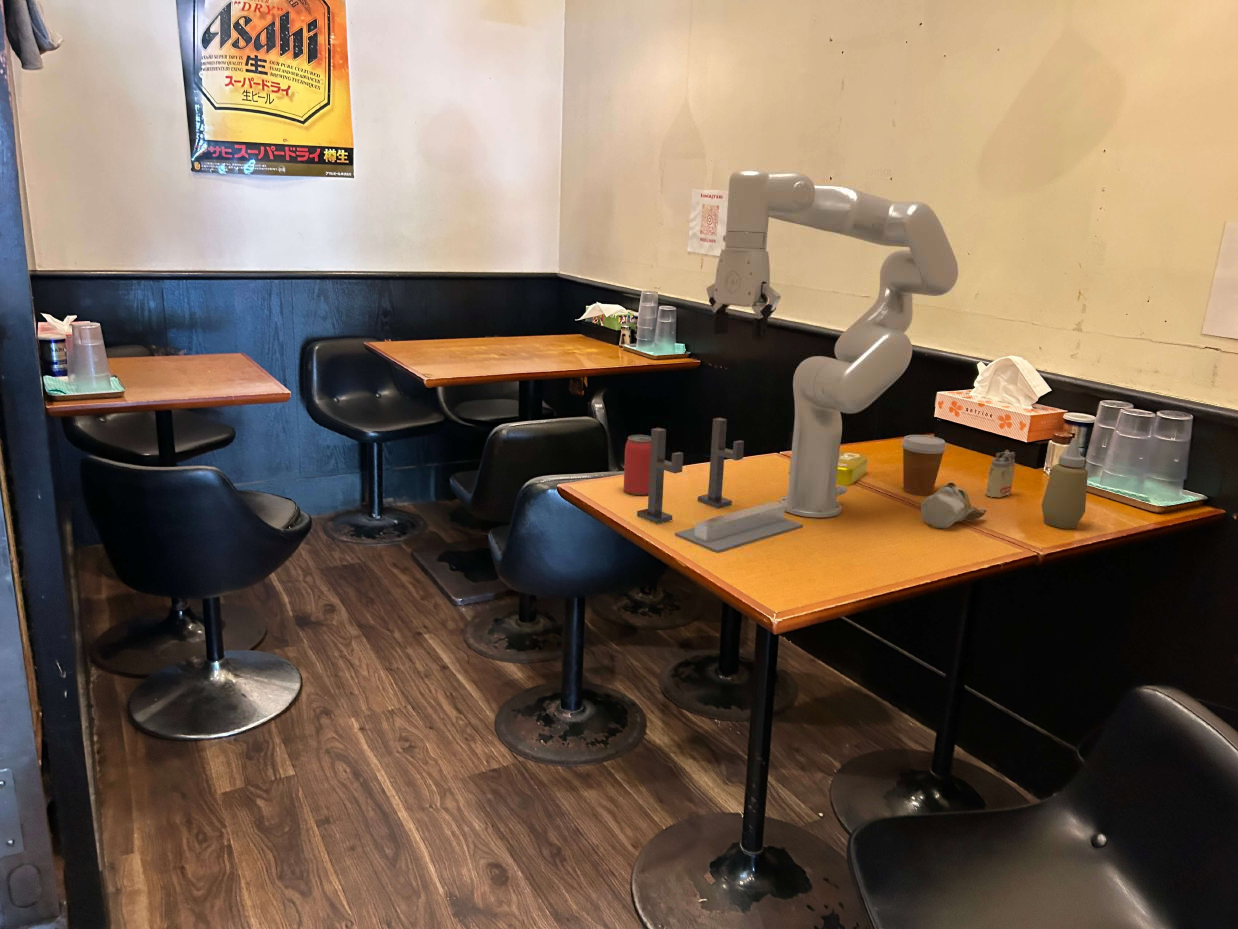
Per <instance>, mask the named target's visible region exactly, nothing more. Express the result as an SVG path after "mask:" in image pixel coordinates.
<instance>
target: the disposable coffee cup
mask: <svg viewBox="0 0 1238 929" xmlns="http://www.w3.org/2000/svg"><path fill="white" fill-rule="evenodd" d="M901 445H902V446H901V447H902V452H903V453H902V461H903V462H902V463H903V464H902V465H903V466H902V467H903V472H902V476H903V478H902V479H903V484H902V485H903V486H902V487H903V488H902V490H903V491H904V492H905V493H909V494H911V495H917V496H931V495H933V494H934V493H933V492H934V489H935V486H936V481H937V477H938V474H939V470H940V466H941V463H942V459H943V455H944V453H945V451H946V450H947V446H946V441H945V440H944V439H943V438H939V437H937V436H932V435H931V436H930V435H925V434H923V435H922V434H909V435H906V436H904V438H903V441H901Z"/></svg>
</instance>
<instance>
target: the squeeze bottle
mask: <svg viewBox="0 0 1238 929" xmlns="http://www.w3.org/2000/svg"><path fill="white" fill-rule="evenodd" d="M1085 461H1086V457H1084V456H1082V455H1081V453H1080V439H1079V438H1077V437H1076V438H1075V437H1072V438H1071V440H1070V443H1069V445H1068V447H1067V450H1066V451H1065V453H1061V454H1059V457H1058V463H1057V464H1056V463H1055V464H1054V465H1053V466H1052V468H1051V471H1050V475H1049V478H1048V481H1047V485H1046V488H1045V492H1044V495H1043V499H1042V502H1041V509H1042V510H1041V511H1042V515H1043V520H1044V521H1043V522H1044V523H1045V524H1047V525H1049V526H1052V527H1053V528H1054V527H1055V528H1058V527H1059V528H1060V529H1075V528H1077V526H1078V524H1079V523H1080V521H1081V519H1082V518H1083V516H1084V515H1085V513H1086V504H1087V489H1088V476H1089V474H1088V473H1089V471H1088V470H1087V468H1086V467H1085V466H1084V465H1085Z"/></svg>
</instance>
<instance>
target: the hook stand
mask: <svg viewBox="0 0 1238 929" xmlns="http://www.w3.org/2000/svg"><path fill="white" fill-rule="evenodd" d="M727 423H728V419H726V418H722V417H717V418H712V428H711V430H712V431H711V444H710V447H711V448H710V461H709V462H710V463H709V474H708V475H709V478H708V490H707V491H708V492H707V493H706V494H703V495H698V496H697V502H699V503H702V504H705V505H708V506H710V507H712V508H715V509H722V508H726V507H729V506H732V504H733V503H732V502H733V501H732V500H731V499H728V498H726V497H723V496H722V495H723V486H724V485H723V483H724V471H725V470H724V467H725V458H727V459H729V460H733V461H740V460H743V459H744V448H745V447H744V446H745V441H744V440H736V441H735V440H734V441H733V445H732V449H730V448H726V440H727V427H728V426H727V425H728V424H727ZM650 431H651V432H650V433H651V434H650V435H651V450H650V472H649V494H648V496H647V497H648V498H647V508H645V509H640V510H637V511H636V517H639V518H641V519H643V518H644V520H646V519H647V520H646V521H648V520H649V521H648V522H651V523H653V522H654V524H656V525H659V524H658V523H660V524H663V523H662V522H664V523H667V521H668V522H671V520H672V521H673V514H670V513H667V512H665V511H663V503H664V502H663V498H664V482H665V481H664V478H665V477H664V476H665V472H669V473H672V474H678V473H683V466H684V465H683V464H684V463H683V462H684V453H683V452H680V451H678V452H673V453H671V461H668V460H665V459H666V458H665V457H666V439H667V429H665V428H660V427H656V428H652V429H651V430H650Z"/></svg>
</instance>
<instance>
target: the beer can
mask: <svg viewBox="0 0 1238 929" xmlns="http://www.w3.org/2000/svg"><path fill="white" fill-rule="evenodd" d="M624 447H625V448H624V468H623V469H624V470H623V490H624V492H626V493H627V494H629V495H633V496H647V495H648V494H649V472H650V450H651V436H650V435H646V434H645V435H644V434H633V435H629V436H628V437H627V441H626V443H625V446H624Z"/></svg>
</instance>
